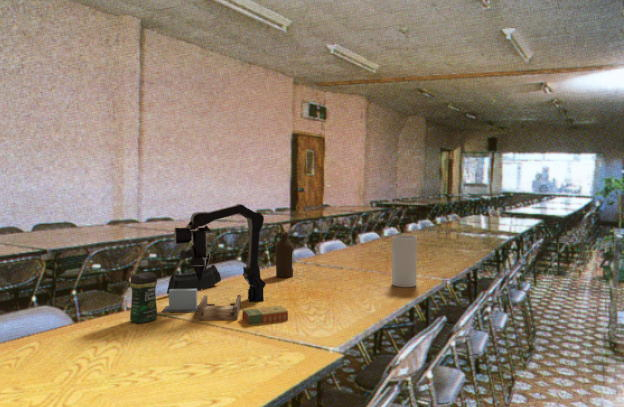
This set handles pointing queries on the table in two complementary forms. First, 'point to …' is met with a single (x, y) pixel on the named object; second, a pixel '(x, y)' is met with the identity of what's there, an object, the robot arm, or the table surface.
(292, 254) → the olive oil
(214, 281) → the magazine
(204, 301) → the rack
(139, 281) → the coffee jar
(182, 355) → the table surface
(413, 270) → the cylinder vase
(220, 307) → the offcut stack
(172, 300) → the block
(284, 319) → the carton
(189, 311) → the mat
